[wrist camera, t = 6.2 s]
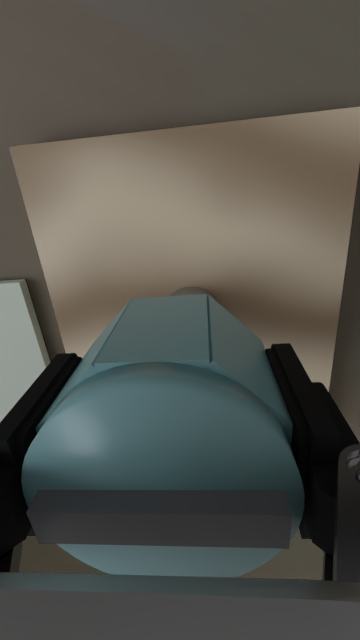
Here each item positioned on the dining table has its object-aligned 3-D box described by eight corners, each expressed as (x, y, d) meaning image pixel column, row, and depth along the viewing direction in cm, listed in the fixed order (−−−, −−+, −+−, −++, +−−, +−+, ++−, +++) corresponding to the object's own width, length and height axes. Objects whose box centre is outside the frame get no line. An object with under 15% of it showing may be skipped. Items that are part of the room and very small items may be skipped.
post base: (314, 417, 19) (380, 564, 12) (97, 421, 21) (37, 552, 13) (349, 113, 13) (546, 25, 5) (27, 150, 14) (-162, 119, 7)
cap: (263, 291, 10) (330, 407, 5) (259, 436, 12) (299, 615, 7) (79, 301, 10) (-39, 414, 5) (110, 438, 13) (49, 605, 8)
